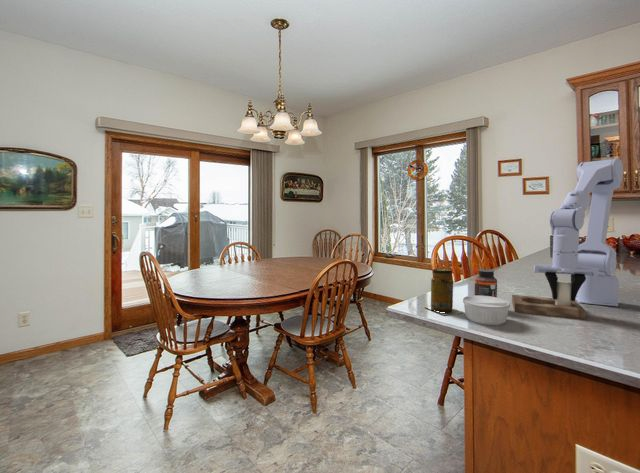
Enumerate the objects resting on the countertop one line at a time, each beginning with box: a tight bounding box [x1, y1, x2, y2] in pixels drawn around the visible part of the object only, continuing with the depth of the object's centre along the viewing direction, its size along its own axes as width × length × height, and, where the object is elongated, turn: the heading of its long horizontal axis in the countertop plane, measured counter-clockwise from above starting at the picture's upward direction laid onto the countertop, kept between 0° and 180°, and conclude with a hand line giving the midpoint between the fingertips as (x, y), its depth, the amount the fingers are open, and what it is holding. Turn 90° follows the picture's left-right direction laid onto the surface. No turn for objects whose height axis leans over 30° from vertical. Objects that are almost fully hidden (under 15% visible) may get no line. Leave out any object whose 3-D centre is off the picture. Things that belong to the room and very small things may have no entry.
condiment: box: [430, 267, 465, 316], centre depth 95 cm, size 7×8×12 cm
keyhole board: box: [511, 294, 586, 320], centre depth 94 cm, size 16×11×2 cm
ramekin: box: [462, 294, 511, 326], centre depth 87 cm, size 11×11×5 cm
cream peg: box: [555, 281, 572, 306], centre depth 93 cm, size 4×4×8 cm
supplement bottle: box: [474, 268, 498, 298], centre depth 97 cm, size 6×6×11 cm
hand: (563, 299), depth 92 cm, fingers closed on cream peg, 3 cm apart
